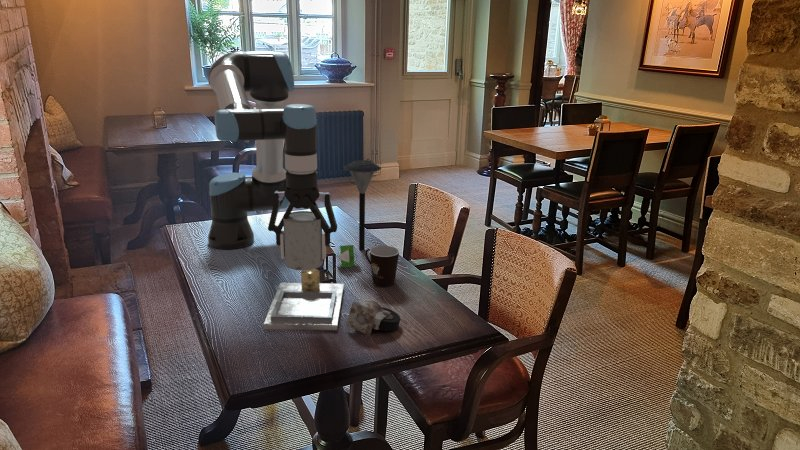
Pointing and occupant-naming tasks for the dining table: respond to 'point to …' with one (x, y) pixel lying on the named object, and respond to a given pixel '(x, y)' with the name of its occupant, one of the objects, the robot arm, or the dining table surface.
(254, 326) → the dining table surface
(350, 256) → the geometric puzzle
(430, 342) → the dining table surface
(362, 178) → the solar garden light
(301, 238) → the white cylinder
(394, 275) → the coffee mug
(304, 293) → the carrier plate
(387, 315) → the caster wheel
